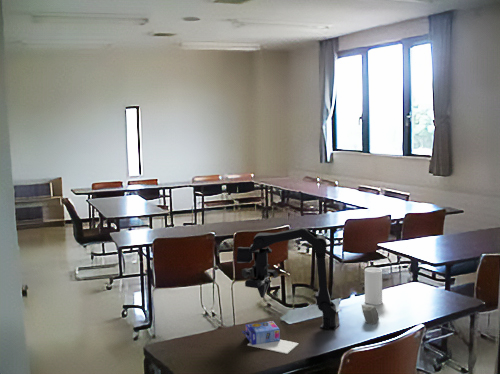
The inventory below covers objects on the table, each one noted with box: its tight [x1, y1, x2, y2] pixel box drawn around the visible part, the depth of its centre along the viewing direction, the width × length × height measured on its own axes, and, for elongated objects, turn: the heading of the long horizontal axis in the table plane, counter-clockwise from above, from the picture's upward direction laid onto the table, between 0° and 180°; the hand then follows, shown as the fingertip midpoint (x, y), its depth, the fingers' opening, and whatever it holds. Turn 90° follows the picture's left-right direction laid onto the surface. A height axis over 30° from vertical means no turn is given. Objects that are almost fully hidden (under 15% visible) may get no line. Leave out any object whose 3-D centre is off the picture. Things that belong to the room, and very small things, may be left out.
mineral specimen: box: [361, 304, 380, 325], centre depth 232 cm, size 7×9×8 cm
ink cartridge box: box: [241, 320, 281, 345], centre depth 218 cm, size 10×6×14 cm
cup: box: [364, 266, 383, 306], centre depth 257 cm, size 8×8×16 cm
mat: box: [246, 339, 299, 355], centre depth 213 cm, size 10×18×1 cm, turn 59°
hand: (262, 297), depth 231 cm, fingers closed
